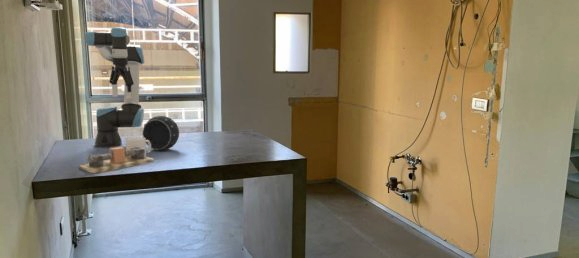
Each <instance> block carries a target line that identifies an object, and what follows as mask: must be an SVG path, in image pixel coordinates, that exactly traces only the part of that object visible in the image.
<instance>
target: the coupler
mask: <svg viewBox="0 0 579 258" xmlns="http://www.w3.org/2000/svg"><path fill="white" fill-rule="evenodd" d="M125 151H126V147H122V146H114V147H109V153H111V154H112V159H110V162H111V163H121V162H125Z"/></svg>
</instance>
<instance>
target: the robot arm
mask: <svg viewBox="0 0 579 258" xmlns="http://www.w3.org/2000/svg"><path fill="white" fill-rule="evenodd" d="M84 40H85V44H86V46H89V47H95V48H96V49H97V50H98V52H99V55H100V56H101V57H102V58H103V59H105V60H106V61H109V62H111V63H112V65H113V66H111V72H110V77H109V82H108V83H110V84H111V89H112V91H111V93H112V97H113V98H114V97H115V98H117V97H119V91H118V81H119V78H120V76H121V77H122V78H123V81H124V85H123V86H124V87H123V88H124V93H123V95H124V96H123V103H122V104H121V108H118V107H117V105H111V106H109V105H108V106H104V107H100V108H98V109H96V114H95V115H96V128H97V129H96V131H97V132H96V137H95V139H94V146H95V147H97V148H98V147H99V148H114V147H120V146H122V144H123V143H122V138H121V135H120V133H119V128H120V129H121V128H141V127H142V125H143V122H144V117H145V111H144V110H145V109H144V108H143V107H142V105H141V104H140V68H142V67H143V66H142V65H144V64H145V57H144V55H145V54H144V51H143V47H142V45H138V44H130V42H131V39H130V36H129V34H128V33H127V29H126V28H125V27H112V28H111V31H110V32H109V31H93V30H92V31H87V32H85V35H84Z"/></svg>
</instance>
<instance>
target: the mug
mask: <svg viewBox="0 0 579 258" xmlns="http://www.w3.org/2000/svg"><path fill="white" fill-rule="evenodd" d="M146 142H147V143H148V145H147V144H146ZM147 146H148V149H147ZM131 148H144V149H145V153H144V156H145V157H147V154H149V153H151V151H152V149H151V143H150V141H149V140H146V138H145V137H143V136H131V137H130V136H129V137H126V138H125V151H127V150H131ZM127 157H129V156H127Z"/></svg>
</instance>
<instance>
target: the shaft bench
mask: <svg viewBox="0 0 579 258" xmlns="http://www.w3.org/2000/svg"><path fill="white" fill-rule="evenodd" d="M144 153H145V149H144V148H131V150H127V151H126V150H125V162H121V163H111V162H110V159H112V154H111V153H110V152H109V153H105V154H98V153H96V154H95V153H94V154H90V155H88V156H87V158H86V161H87V163H85V164H80V165H79V166H78V168H79V170H82V169H83V171H84V172H85V171H86V172H89V173H90V174H93V173H94V174H99V173H104V172H109V171H113V170H119V169H123V168H129V167H134V166H140V165H142V164H143V165H144V164H149V163H154V162H155V159H154V158H152V157H148V156H146V157H145V156H144ZM127 156H129V157H127ZM98 172H99V173H98Z"/></svg>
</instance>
